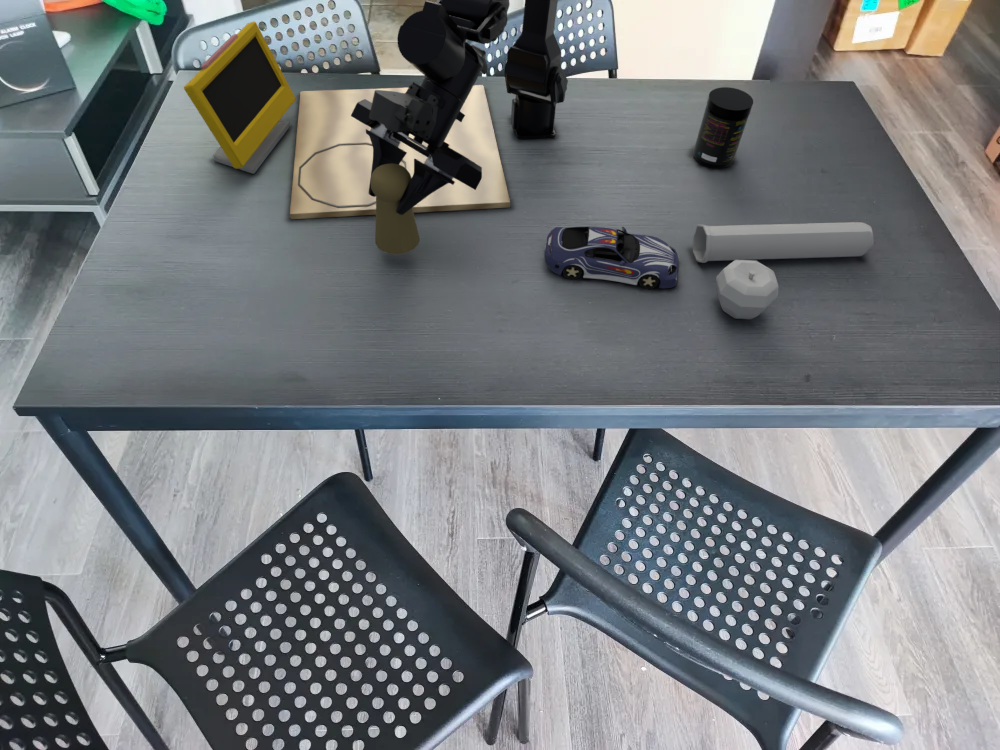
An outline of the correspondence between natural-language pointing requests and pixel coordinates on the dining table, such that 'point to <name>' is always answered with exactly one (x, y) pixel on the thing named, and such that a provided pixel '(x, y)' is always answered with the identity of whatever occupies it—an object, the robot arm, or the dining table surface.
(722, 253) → the tube
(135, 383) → the dining table surface
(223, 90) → the toy computer monitor
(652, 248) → the toy car
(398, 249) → the pepper shaker
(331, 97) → the sketch board
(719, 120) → the supplement container
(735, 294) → the apple
